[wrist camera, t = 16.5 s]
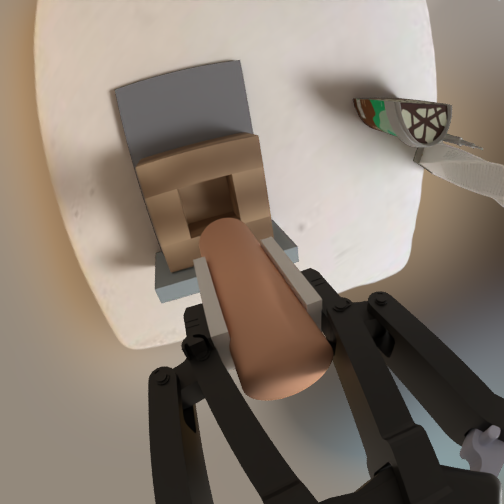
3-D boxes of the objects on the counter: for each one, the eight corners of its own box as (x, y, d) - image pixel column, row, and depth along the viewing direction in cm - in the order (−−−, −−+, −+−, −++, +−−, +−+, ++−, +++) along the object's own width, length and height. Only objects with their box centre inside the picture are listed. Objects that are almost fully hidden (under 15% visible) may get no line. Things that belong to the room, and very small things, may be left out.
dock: (108, 93, 23) (88, 87, 16) (246, 60, 26) (270, 46, 19) (160, 265, 35) (161, 303, 28) (274, 232, 38) (298, 261, 31)
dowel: (192, 226, 19) (232, 362, 9) (247, 211, 20) (335, 324, 10) (206, 272, 21) (251, 409, 11) (255, 257, 22) (330, 378, 12)
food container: (349, 141, 34) (399, 155, 26) (344, 98, 31) (396, 101, 23) (406, 134, 36) (454, 147, 28) (404, 98, 33) (453, 105, 24)
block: (140, 159, 27) (135, 167, 23) (244, 132, 29) (258, 135, 25) (169, 251, 33) (170, 272, 29) (260, 224, 35) (274, 242, 31)
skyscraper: (444, 144, 40) (567, 198, 16) (433, 180, 43) (552, 248, 19) (422, 125, 36) (566, 178, 13) (410, 166, 40) (550, 238, 16)
